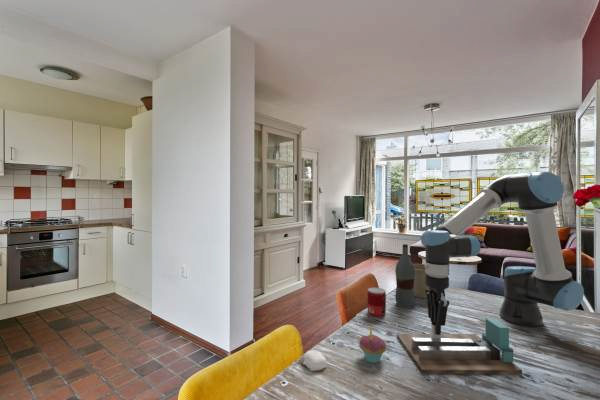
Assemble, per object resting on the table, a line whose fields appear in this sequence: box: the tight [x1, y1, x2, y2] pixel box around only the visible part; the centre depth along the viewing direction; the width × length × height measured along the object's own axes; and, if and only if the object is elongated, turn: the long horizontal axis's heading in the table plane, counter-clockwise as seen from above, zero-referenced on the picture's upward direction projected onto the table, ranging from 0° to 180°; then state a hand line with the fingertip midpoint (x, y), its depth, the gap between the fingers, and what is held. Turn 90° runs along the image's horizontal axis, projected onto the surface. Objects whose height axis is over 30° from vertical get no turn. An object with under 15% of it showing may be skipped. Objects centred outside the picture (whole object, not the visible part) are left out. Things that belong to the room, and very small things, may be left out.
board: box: [396, 333, 523, 375], centre depth 98 cm, size 30×23×1 cm
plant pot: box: [413, 263, 429, 299], centre depth 156 cm, size 15×15×16 cm
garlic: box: [302, 349, 328, 372], centre depth 91 cm, size 8×7×4 cm
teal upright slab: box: [481, 318, 514, 363], centre depth 96 cm, size 3×11×10 cm, turn 0°
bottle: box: [394, 243, 416, 309], centre depth 143 cm, size 9×9×30 cm
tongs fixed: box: [419, 338, 501, 360], centre depth 96 cm, size 25×7×3 cm, turn 90°
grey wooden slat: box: [412, 338, 475, 350], centre depth 99 cm, size 20×2×3 cm, turn 87°
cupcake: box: [359, 324, 387, 364], centre depth 95 cm, size 9×8×12 cm
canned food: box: [367, 287, 387, 318], centre depth 132 cm, size 8×8×11 cm
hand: (435, 342), depth 101 cm, fingers closed
